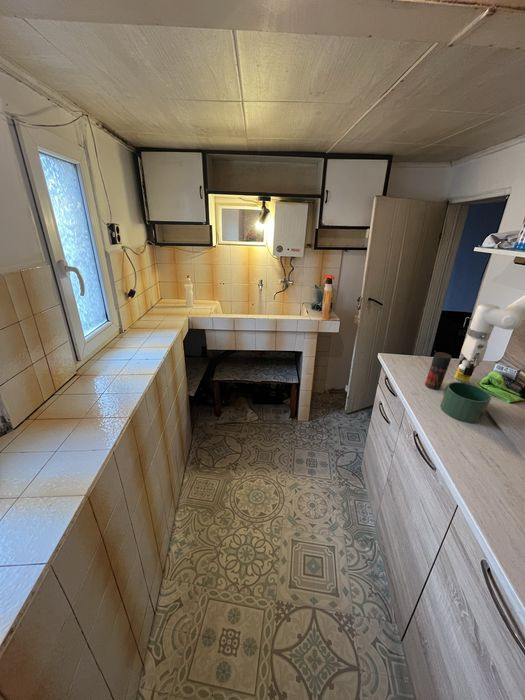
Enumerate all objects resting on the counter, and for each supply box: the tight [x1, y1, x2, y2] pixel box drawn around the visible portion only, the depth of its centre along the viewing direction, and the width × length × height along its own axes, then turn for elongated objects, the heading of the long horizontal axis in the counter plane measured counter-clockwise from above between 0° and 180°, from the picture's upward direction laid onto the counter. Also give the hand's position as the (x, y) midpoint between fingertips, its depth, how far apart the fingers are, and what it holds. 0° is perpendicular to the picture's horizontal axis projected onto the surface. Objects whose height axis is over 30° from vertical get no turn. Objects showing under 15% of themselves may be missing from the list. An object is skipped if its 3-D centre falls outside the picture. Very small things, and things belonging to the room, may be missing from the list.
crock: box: [439, 381, 492, 424], centre depth 104 cm, size 13×13×9 cm
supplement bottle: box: [453, 360, 474, 384], centre depth 125 cm, size 5×5×10 cm
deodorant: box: [424, 351, 452, 391], centre depth 118 cm, size 6×6×15 cm
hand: (464, 371), depth 124 cm, fingers closed on supplement bottle, 5 cm apart
